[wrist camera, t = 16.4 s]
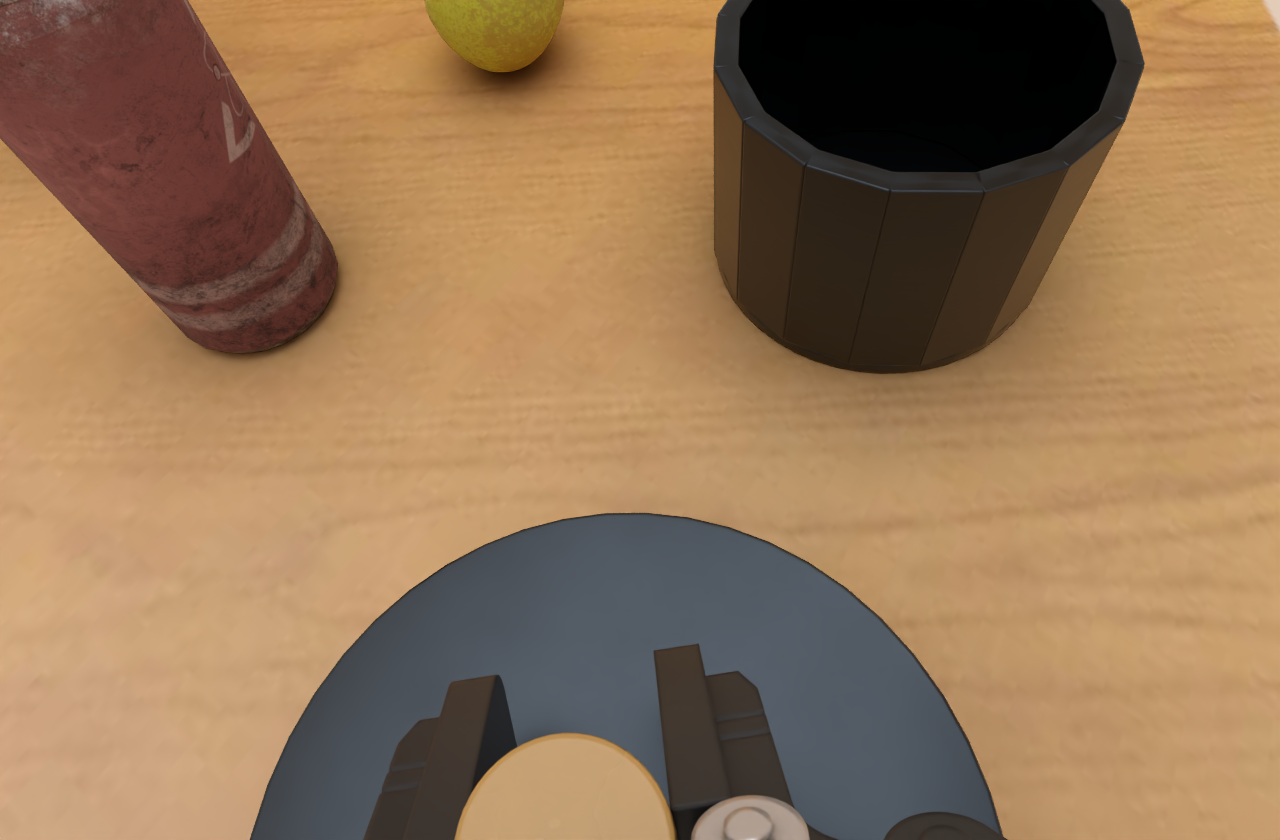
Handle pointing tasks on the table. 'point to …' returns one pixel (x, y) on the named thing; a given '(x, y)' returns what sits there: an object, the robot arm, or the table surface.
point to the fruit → (496, 29)
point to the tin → (907, 164)
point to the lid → (628, 688)
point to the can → (164, 165)
